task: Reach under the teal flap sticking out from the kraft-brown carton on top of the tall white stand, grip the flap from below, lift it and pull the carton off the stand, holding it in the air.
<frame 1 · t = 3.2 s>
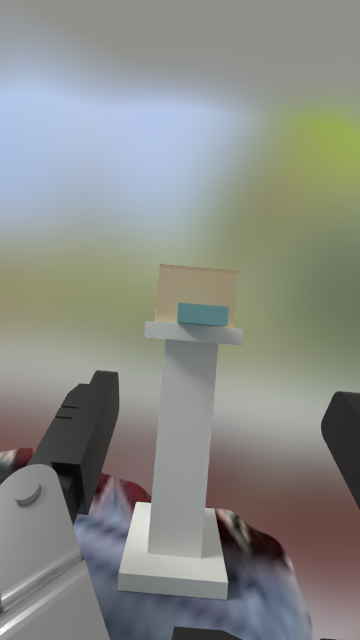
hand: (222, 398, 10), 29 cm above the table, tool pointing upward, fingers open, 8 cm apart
stand: (173, 549, 38), on the table
carton: (192, 325, 39), point 32 cm above the table, touching stand
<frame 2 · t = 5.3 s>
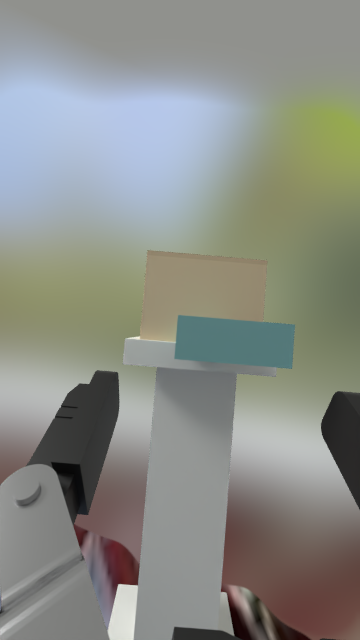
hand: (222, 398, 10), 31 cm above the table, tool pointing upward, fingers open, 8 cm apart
carton: (196, 341, 27), point 32 cm above the table, touching stand
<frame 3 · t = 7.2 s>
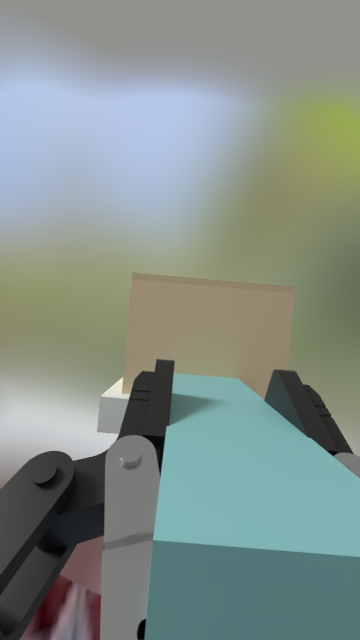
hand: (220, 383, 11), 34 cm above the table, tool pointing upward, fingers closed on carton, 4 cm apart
carton: (197, 383, 21), point 32 cm above the table, touching gripper, stand
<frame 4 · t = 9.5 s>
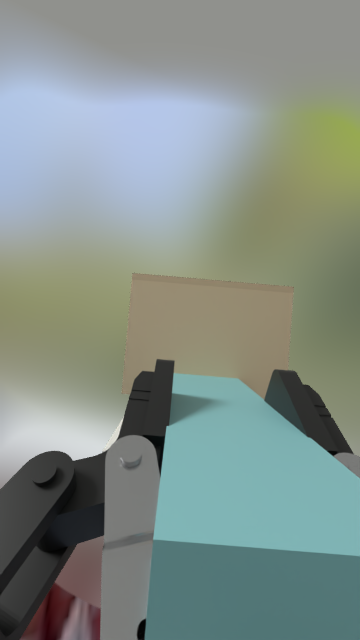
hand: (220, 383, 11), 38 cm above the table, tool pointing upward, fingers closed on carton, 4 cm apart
carton: (197, 383, 21), point 36 cm above the table, touching gripper
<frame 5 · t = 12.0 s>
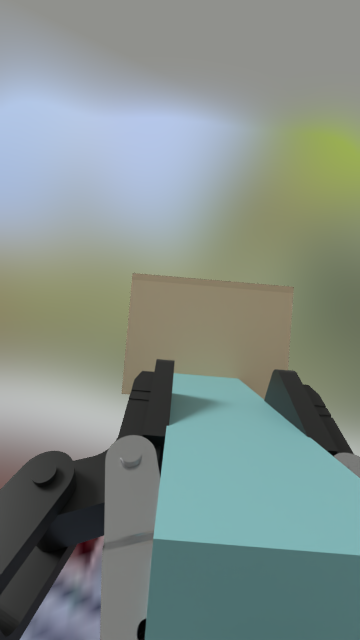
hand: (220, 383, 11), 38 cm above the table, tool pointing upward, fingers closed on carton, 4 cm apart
carton: (197, 383, 21), point 36 cm above the table, touching gripper
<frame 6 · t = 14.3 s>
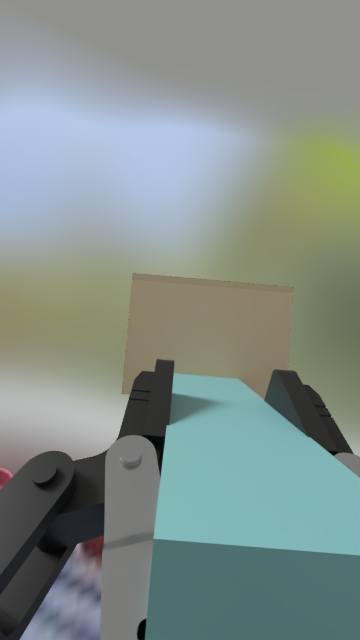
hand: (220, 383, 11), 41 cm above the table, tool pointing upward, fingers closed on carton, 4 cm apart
carton: (197, 383, 21), point 39 cm above the table, touching gripper
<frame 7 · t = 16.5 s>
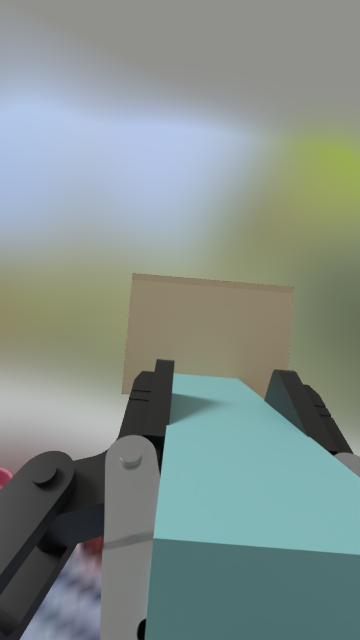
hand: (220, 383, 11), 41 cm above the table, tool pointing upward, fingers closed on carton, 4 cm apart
carton: (197, 384, 21), point 39 cm above the table, touching gripper
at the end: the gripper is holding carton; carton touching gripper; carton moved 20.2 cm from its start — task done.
